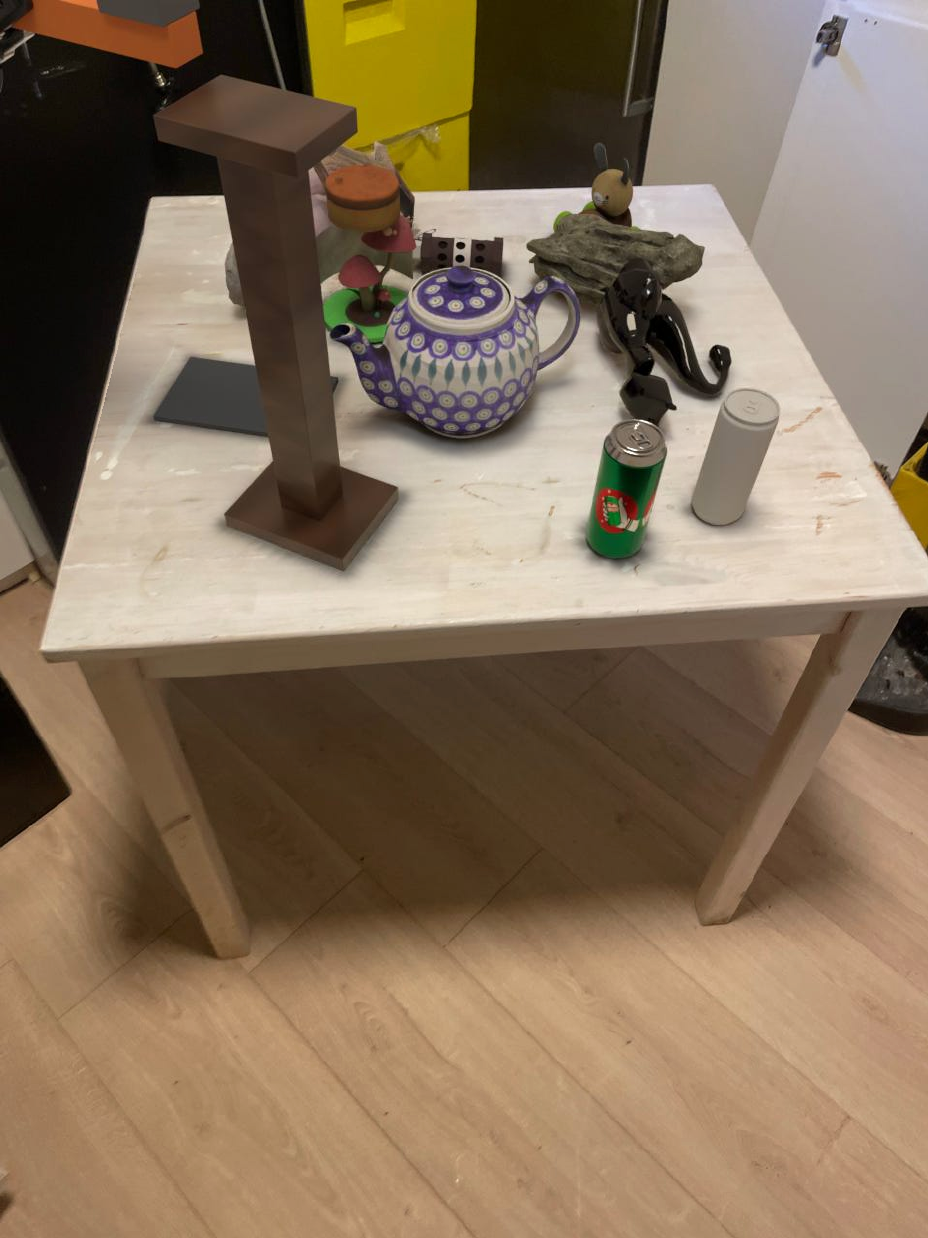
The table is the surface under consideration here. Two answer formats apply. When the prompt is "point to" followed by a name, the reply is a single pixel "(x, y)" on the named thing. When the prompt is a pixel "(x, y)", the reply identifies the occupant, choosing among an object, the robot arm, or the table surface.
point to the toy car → (609, 193)
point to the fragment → (376, 158)
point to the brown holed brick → (458, 253)
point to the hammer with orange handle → (122, 27)
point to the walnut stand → (283, 308)
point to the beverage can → (735, 454)
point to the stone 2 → (609, 254)
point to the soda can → (626, 488)
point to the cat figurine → (652, 342)
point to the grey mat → (217, 397)
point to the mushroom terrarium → (364, 247)
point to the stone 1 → (233, 278)
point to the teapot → (459, 350)
